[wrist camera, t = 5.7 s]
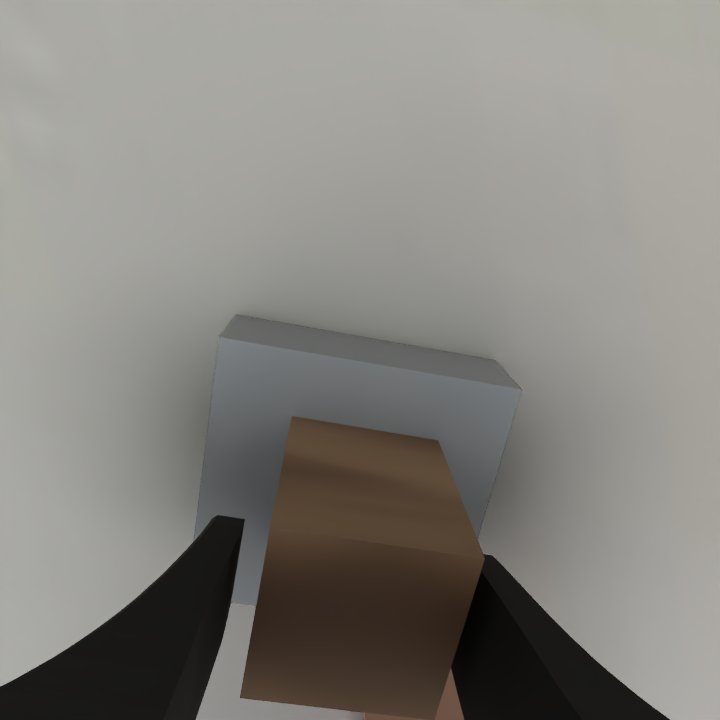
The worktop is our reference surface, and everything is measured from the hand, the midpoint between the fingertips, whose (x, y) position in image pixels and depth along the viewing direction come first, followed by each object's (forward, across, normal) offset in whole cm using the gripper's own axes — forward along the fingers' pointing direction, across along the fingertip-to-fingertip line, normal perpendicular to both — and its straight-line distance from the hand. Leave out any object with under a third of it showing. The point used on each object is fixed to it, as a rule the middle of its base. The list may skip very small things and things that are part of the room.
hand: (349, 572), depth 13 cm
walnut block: (+3, 0, 0) cm, 3 cm away
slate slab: (+6, 0, 0) cm, 6 cm away
